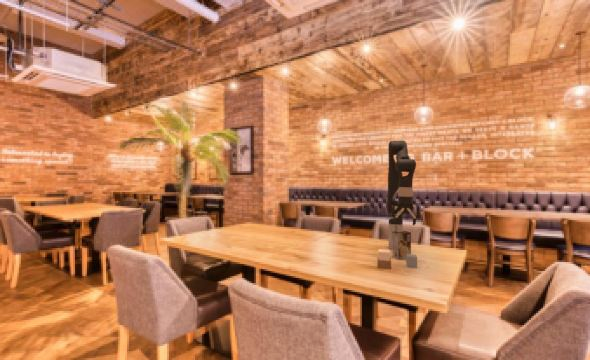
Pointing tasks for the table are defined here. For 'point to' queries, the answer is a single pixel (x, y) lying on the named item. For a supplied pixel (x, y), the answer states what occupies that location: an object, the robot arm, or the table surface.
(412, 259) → the slate block
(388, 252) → the tower top
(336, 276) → the table surface
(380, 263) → the tower base
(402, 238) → the coffee box
